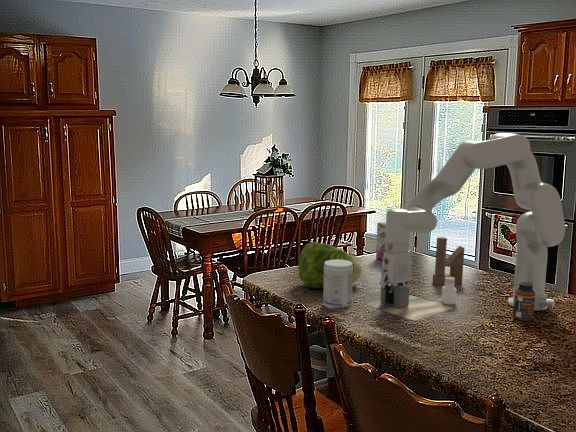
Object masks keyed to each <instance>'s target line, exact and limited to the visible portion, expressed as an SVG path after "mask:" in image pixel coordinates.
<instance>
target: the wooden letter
mask: <svg viewBox="0 0 576 432" xmlns="http://www.w3.org/2000/svg"><path fill="white" fill-rule="evenodd" d="M447 242H448V238H447V237H443V236H438V237H436V245H435V246H436V248H435V249H436V250H435V266H434V274H432V284H433V285H435V286H437V287H439V286H440V287H441V286H442V287H443V286H445V277H453V278H455V284H454V286H457V285H462V284H463V274H464V260H465V247H463V246H460V245H458V246H457V248H456V249H455V250H453V252H452V253H451V254H450V255H449V256H448V258H446V257H447ZM446 268H449V273H445V272H446Z"/></svg>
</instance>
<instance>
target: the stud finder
mask: <svg viewBox="0 0 576 432" xmlns="http://www.w3.org/2000/svg"><path fill="white" fill-rule="evenodd" d="M388 286H389V287H390V284H389V285H388ZM393 292H394V304H392V305H391V304H388V303H385V291H384V288H383V287H382V286H381V285H380V300H381V301H380V300H379V301H380V303H383V304H386V305H389V306H392V307H396V308H399V309H400V308H404V307H407V306H409V295H410V287H407V286H406V287H404V286H400V285H397V284H394V288H393Z"/></svg>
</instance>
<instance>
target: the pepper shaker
mask: <svg viewBox="0 0 576 432" xmlns="http://www.w3.org/2000/svg"><path fill="white" fill-rule="evenodd" d="M454 284H455V278H453V277H445V285H442V287H441V299H440V302H442V303H443V305H456V304H457V303H456V302H457V288H456V287H455V285H454Z"/></svg>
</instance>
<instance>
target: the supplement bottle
mask: <svg viewBox="0 0 576 432" xmlns="http://www.w3.org/2000/svg"><path fill="white" fill-rule="evenodd" d="M532 289H533V284H531V283H527V282H520V283H519V288H518V289H516V291H515V297H514V307H513V309H512V310H513V311H512V317H513V318H514V319H515V320H516V321H521V322H531V321H532V320H533V319H534V313H535V312H534V304H535V292H534V291H533V290H532Z"/></svg>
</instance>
